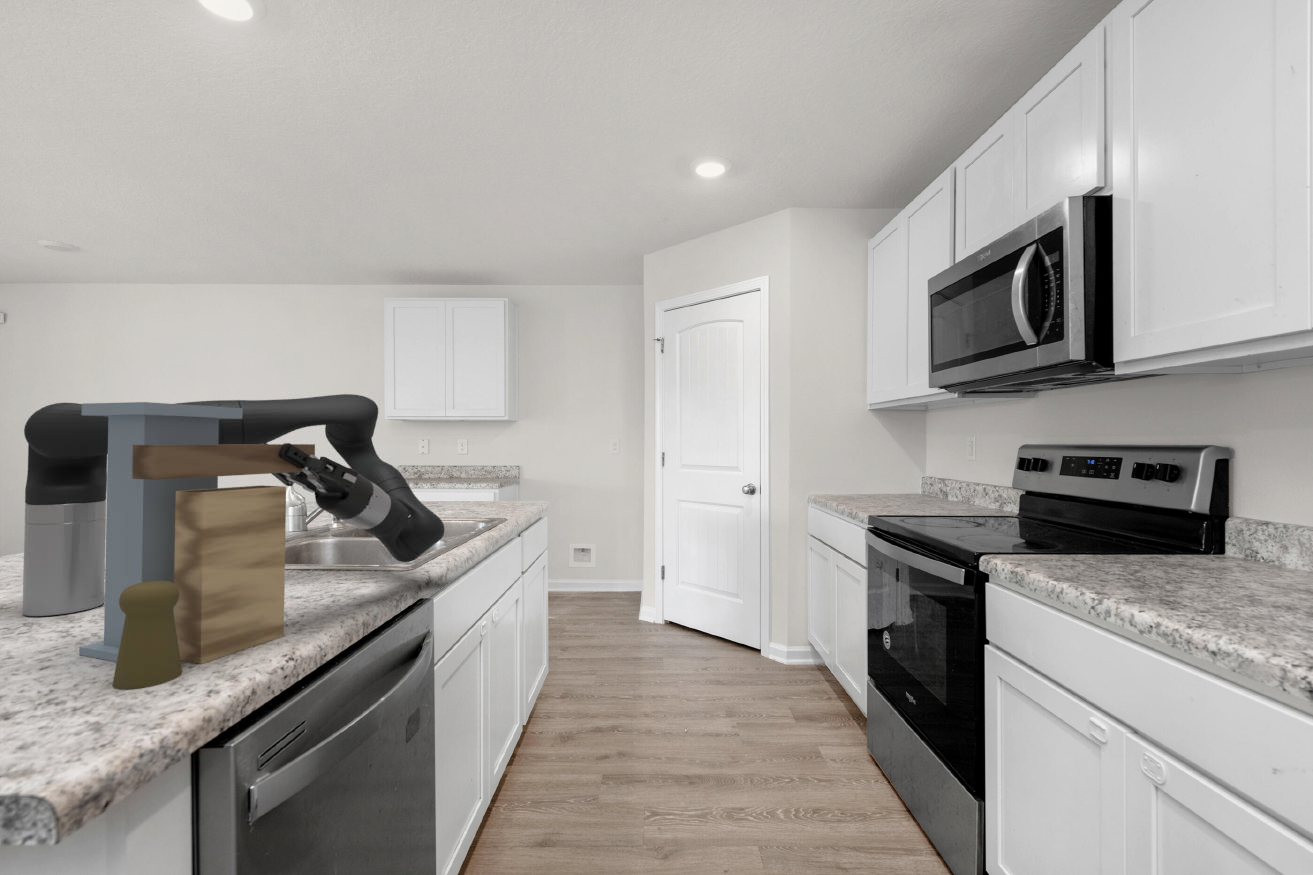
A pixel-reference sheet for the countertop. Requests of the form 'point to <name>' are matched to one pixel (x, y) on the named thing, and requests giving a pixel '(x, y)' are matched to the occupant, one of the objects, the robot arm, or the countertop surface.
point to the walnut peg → (210, 460)
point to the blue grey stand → (144, 499)
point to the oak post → (229, 569)
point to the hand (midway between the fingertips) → (271, 448)
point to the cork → (148, 636)
